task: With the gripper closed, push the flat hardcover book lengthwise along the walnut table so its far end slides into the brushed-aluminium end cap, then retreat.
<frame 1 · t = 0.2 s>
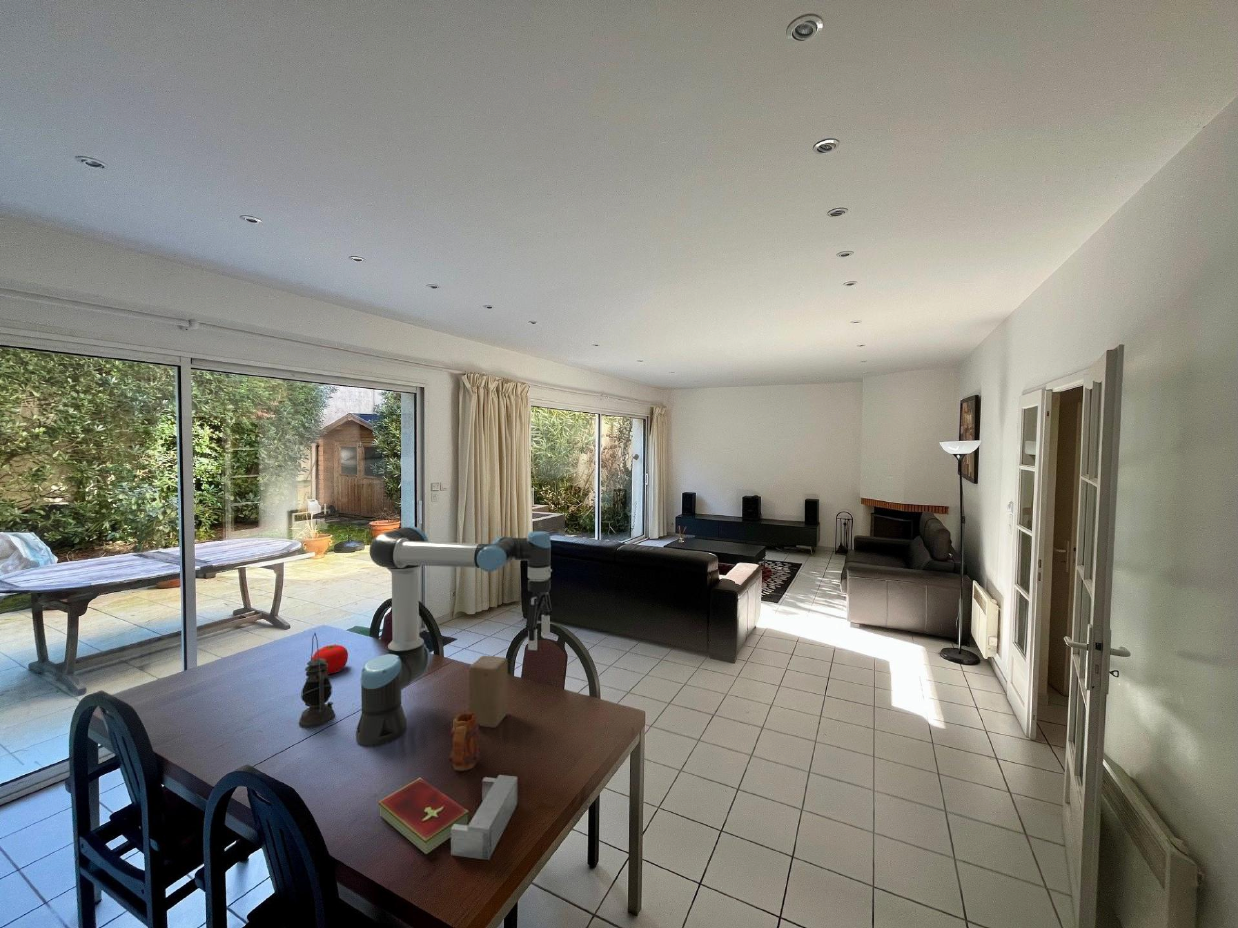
hand: (539, 641, 165), 28 cm above the table, fingers open, 13 cm apart
end cap: (484, 826, 120), on the table
wooden block: (489, 720, 168), on the table
tomato: (330, 671, 205), on the table
hardcover book: (423, 822, 122), on the table
mug: (463, 771, 141), on the table
lantern: (317, 719, 168), on the table
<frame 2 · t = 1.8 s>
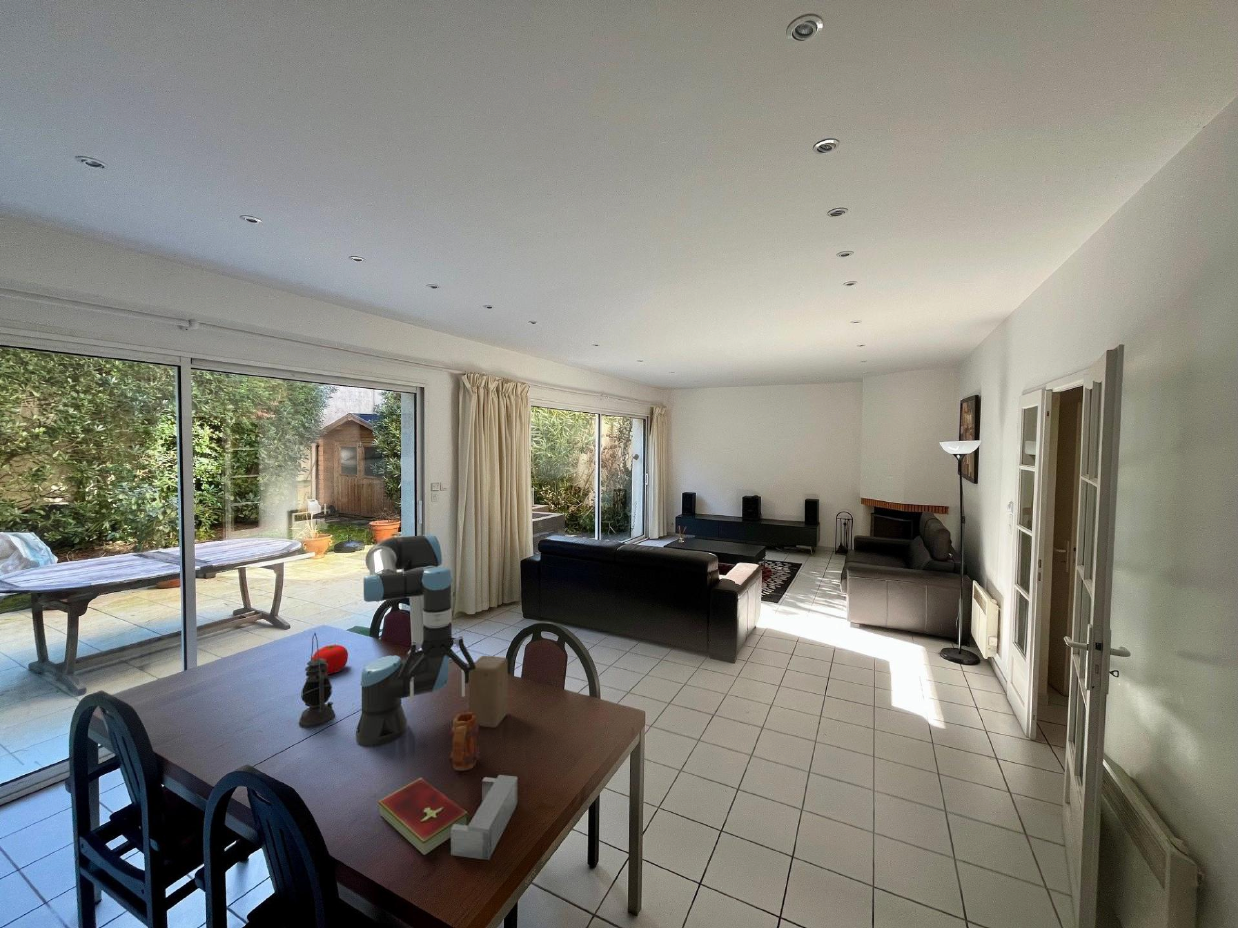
hand: (438, 698, 139), 22 cm above the table, fingers open, 13 cm apart
nothing on the table moved.
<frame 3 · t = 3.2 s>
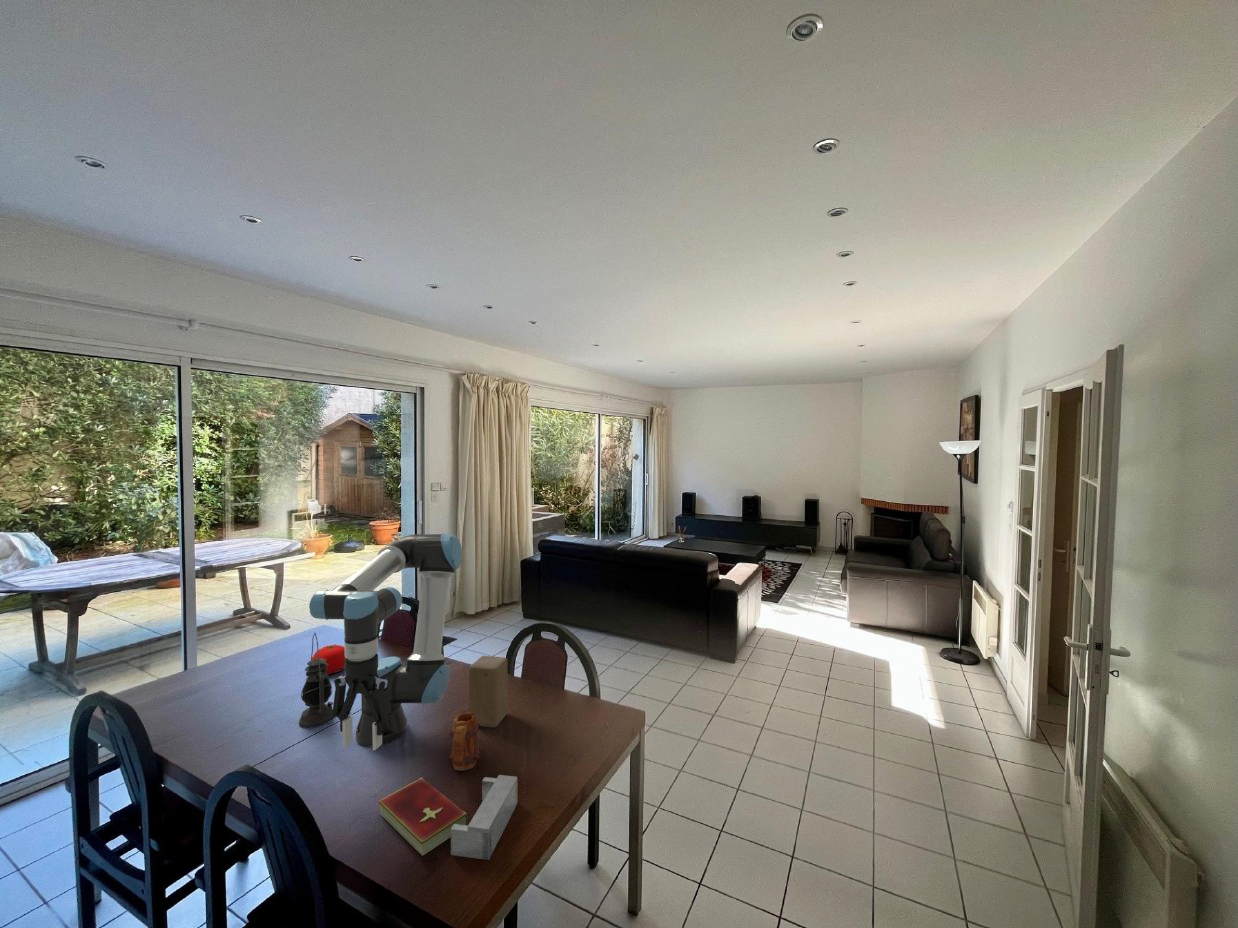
hand: (362, 745, 124), 17 cm above the table, fingers open, 8 cm apart
nothing on the table moved.
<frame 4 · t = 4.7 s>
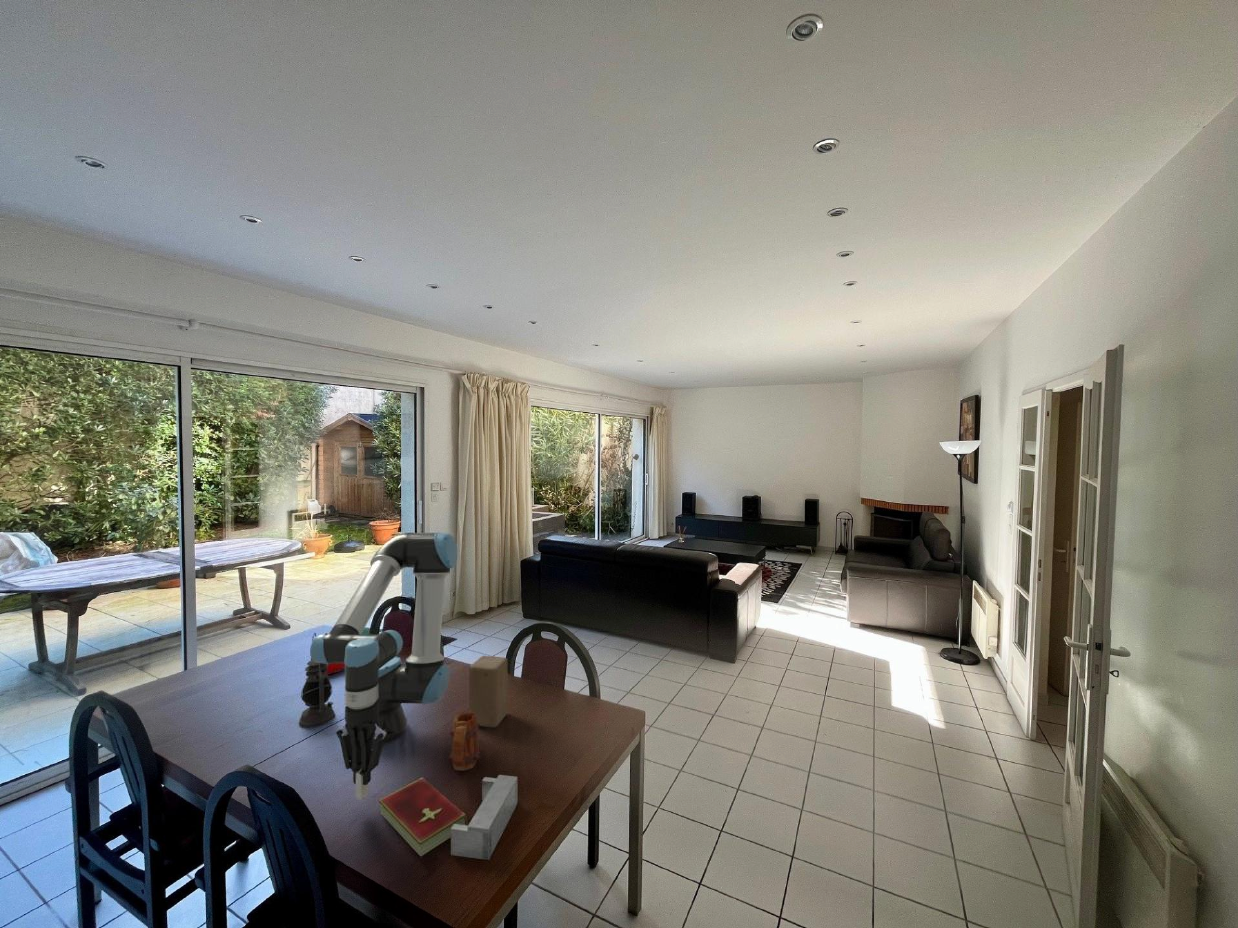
hand: (362, 795, 124), 4 cm above the table, fingers closed
nothing on the table moved.
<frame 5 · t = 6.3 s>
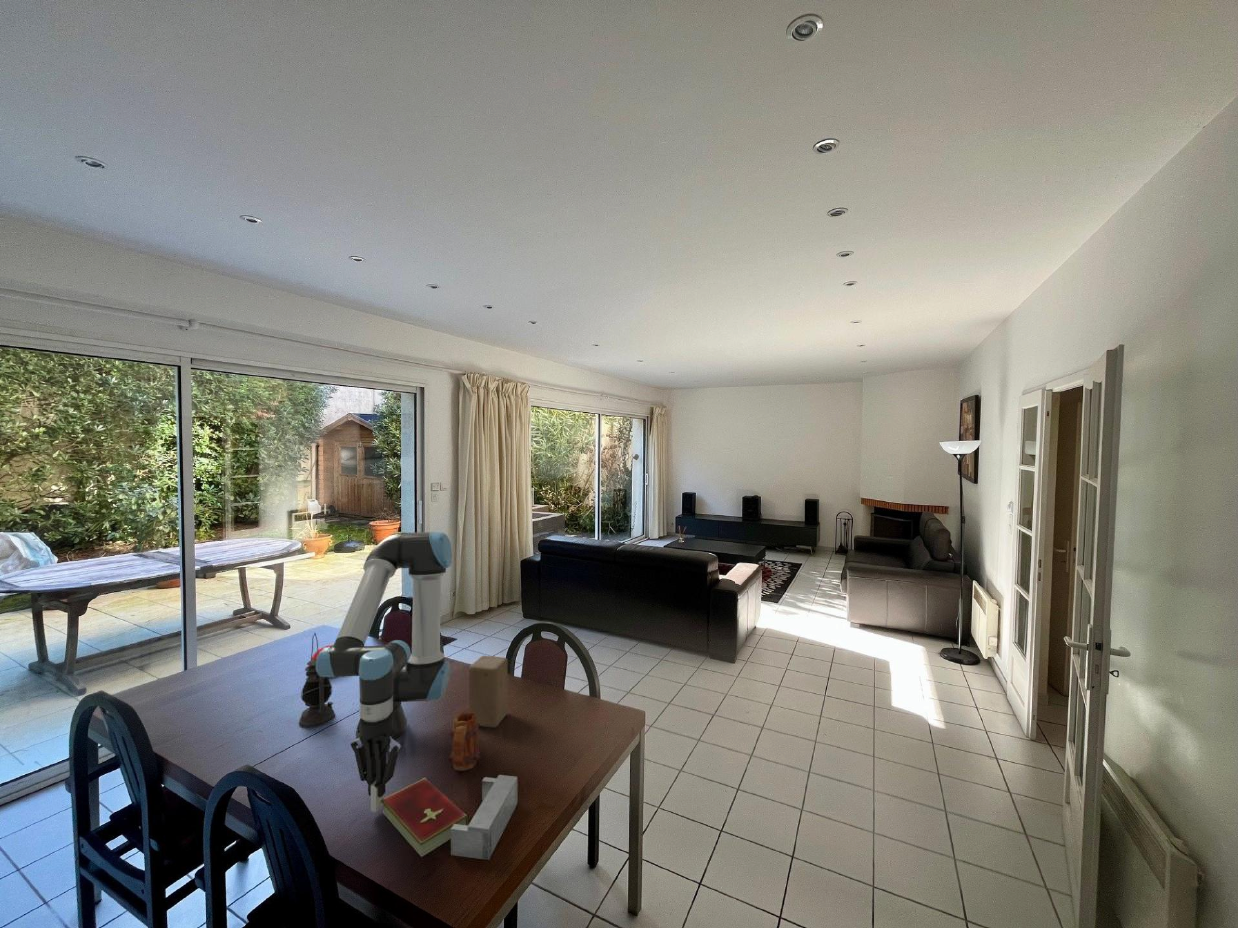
hand: (377, 807, 124), 2 cm above the table, fingers closed
hardcover book: (423, 823, 122), on the table, touching gripper
everything else where it was.
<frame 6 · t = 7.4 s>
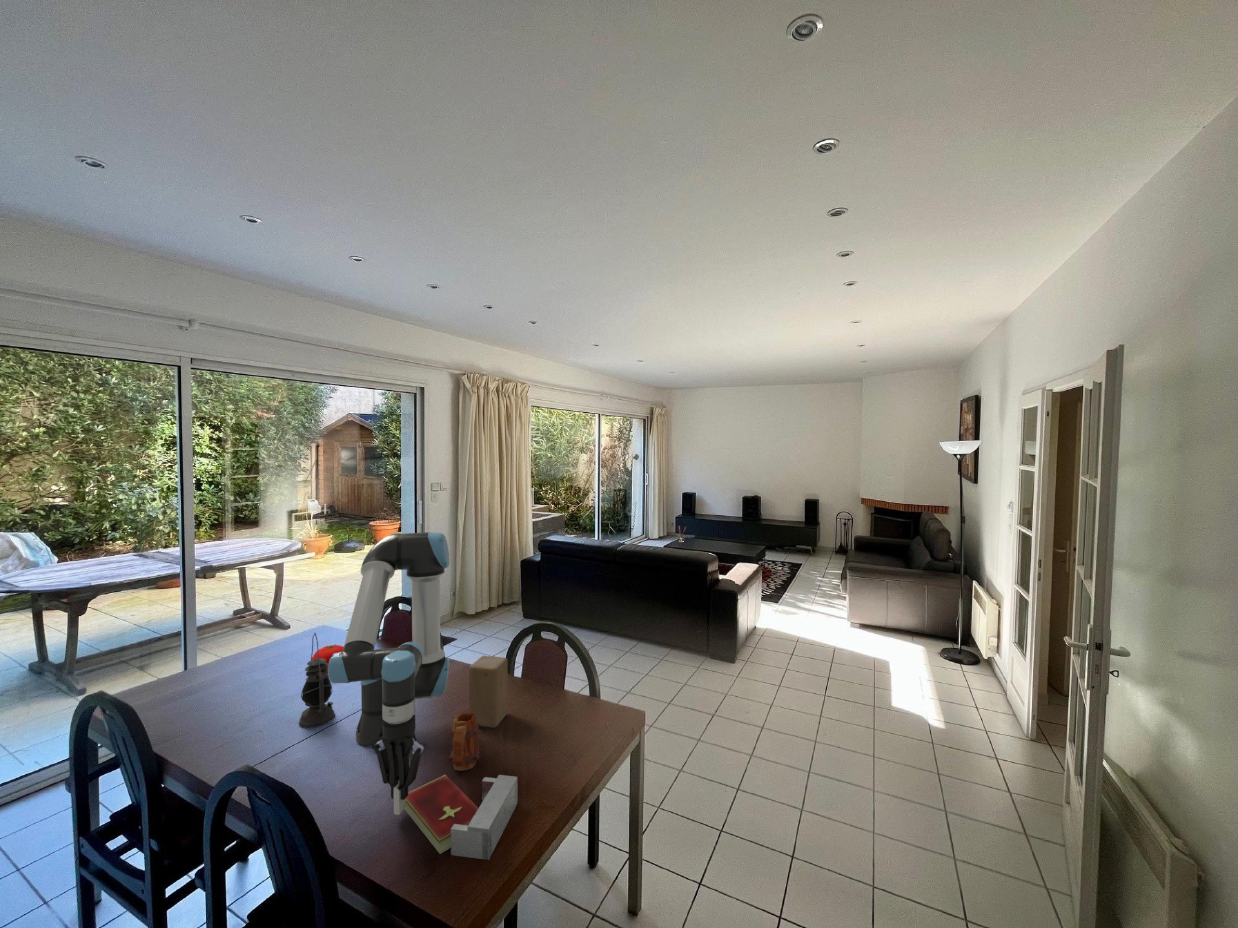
hand: (399, 810, 123), 2 cm above the table, fingers closed
hardcover book: (443, 820, 123), on the table, touching gripper
everything else where it was.
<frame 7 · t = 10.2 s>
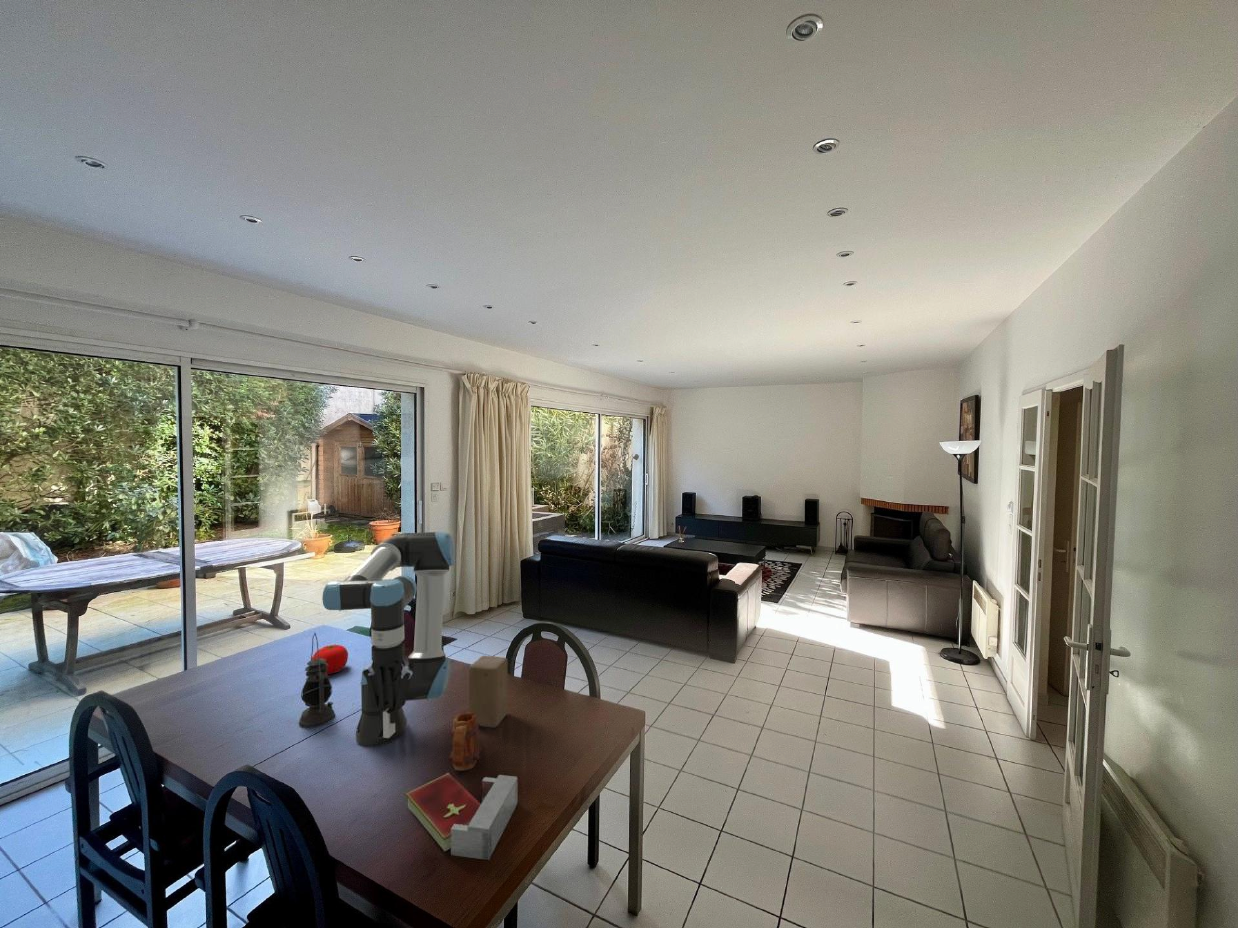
hand: (389, 734, 125), 20 cm above the table, fingers closed
hardcover book: (447, 818, 124), on the table
everything else where it was.
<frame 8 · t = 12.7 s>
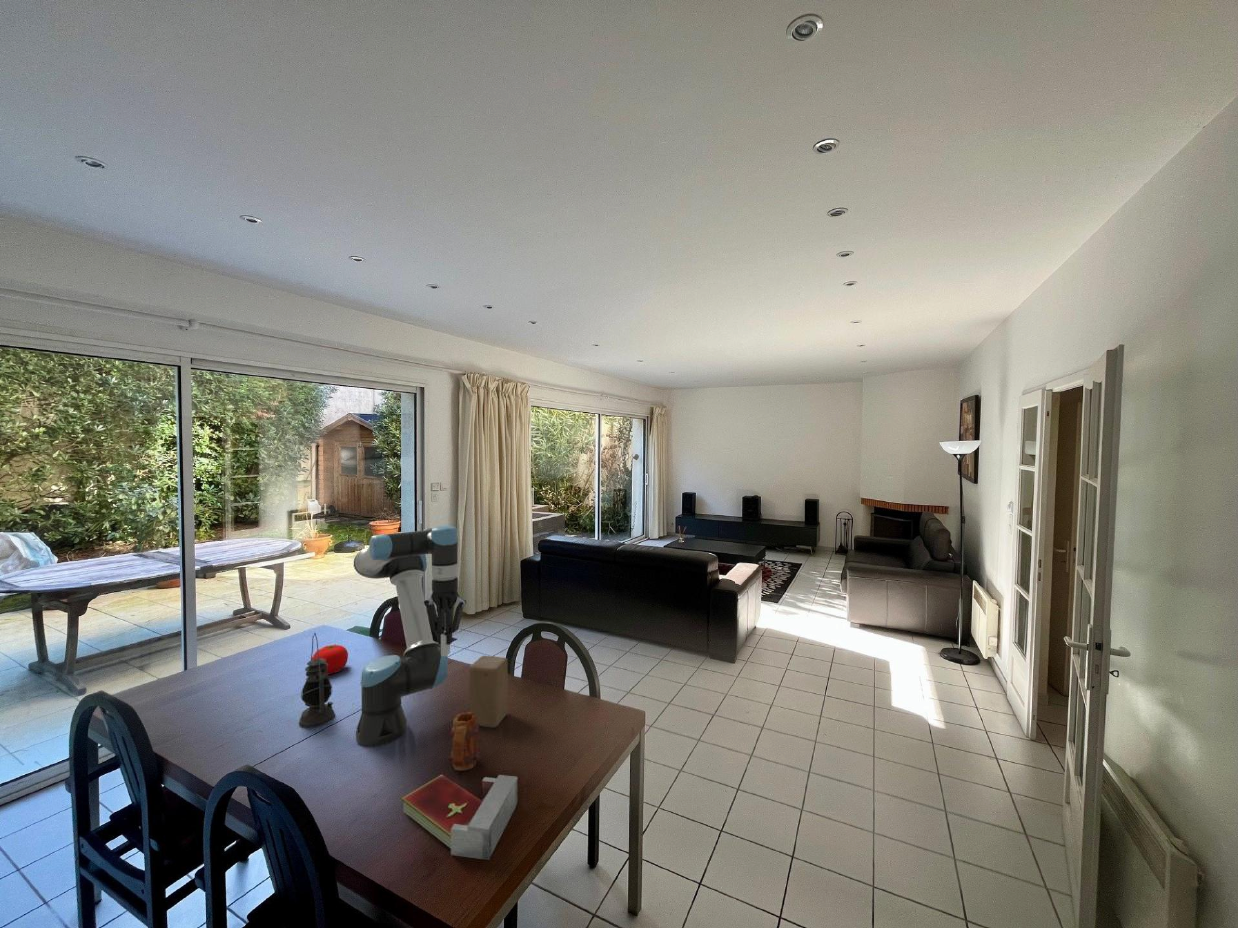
hand: (445, 654, 151), 29 cm above the table, fingers closed
at the end: hardcover book 3.2 cm from the target spot on the table beside the end cap, on the table; hardcover book tilted 0° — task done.
